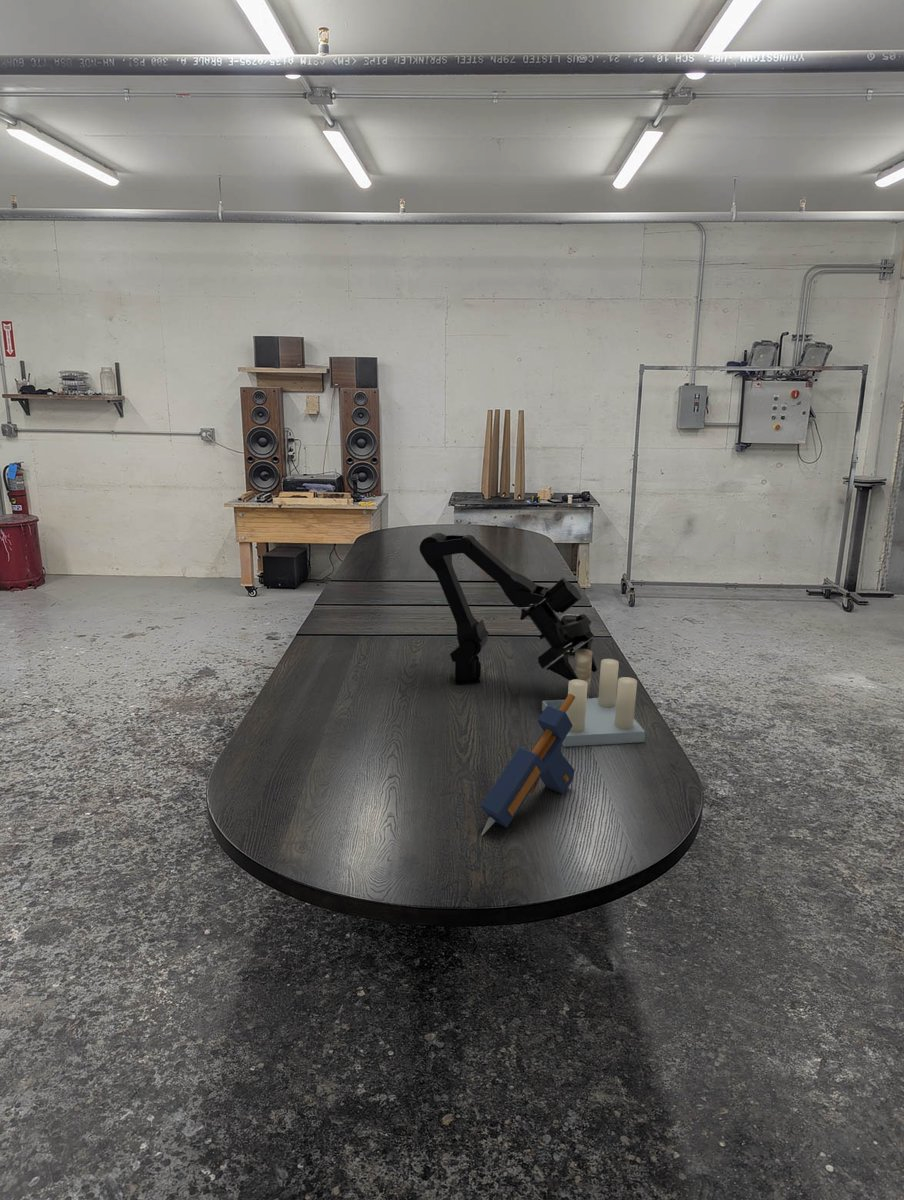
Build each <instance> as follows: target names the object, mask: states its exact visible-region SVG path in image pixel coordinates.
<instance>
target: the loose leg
mask: <svg viewBox="0 0 904 1200" xmlns="http://www.w3.org/2000/svg"><path fill="white" fill-rule="evenodd" d="M592 655H593V650H592V649H591V650H588V649H577V650H576V651H575V656H574V665H573V666H574V667H573V670H574V672H575V674H576V675H577V677H578V679H579V680H584V681H586V682H587V683H588V687H587V698H590V692H591V679H592V671H591V666H592Z"/></svg>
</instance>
